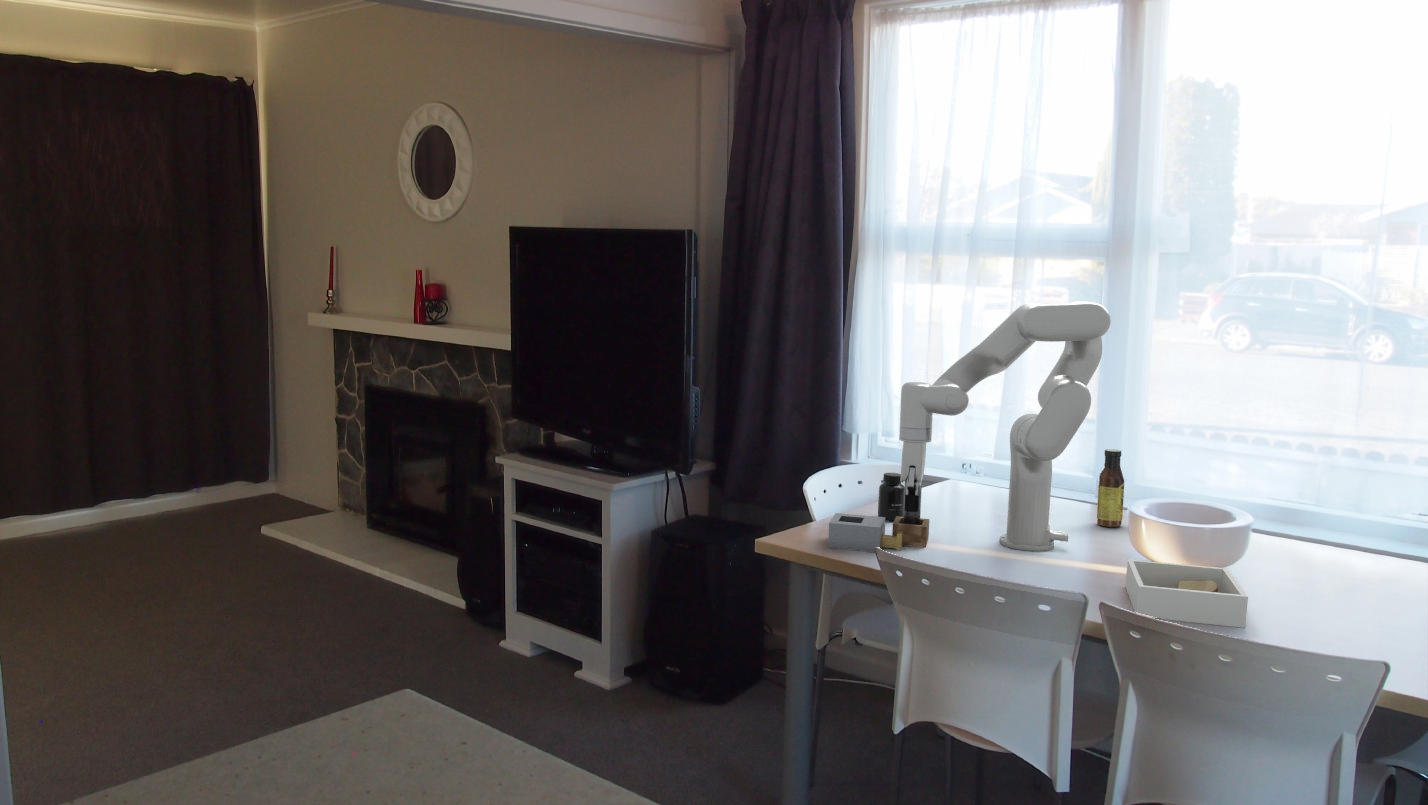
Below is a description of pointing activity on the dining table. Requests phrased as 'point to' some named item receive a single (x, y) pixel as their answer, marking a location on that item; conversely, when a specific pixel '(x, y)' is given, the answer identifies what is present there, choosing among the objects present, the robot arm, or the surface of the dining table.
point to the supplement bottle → (891, 497)
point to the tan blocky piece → (893, 541)
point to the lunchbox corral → (1185, 593)
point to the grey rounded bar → (913, 516)
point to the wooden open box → (912, 532)
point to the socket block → (856, 532)
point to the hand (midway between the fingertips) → (912, 508)
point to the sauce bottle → (1111, 491)
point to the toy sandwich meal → (1198, 585)
